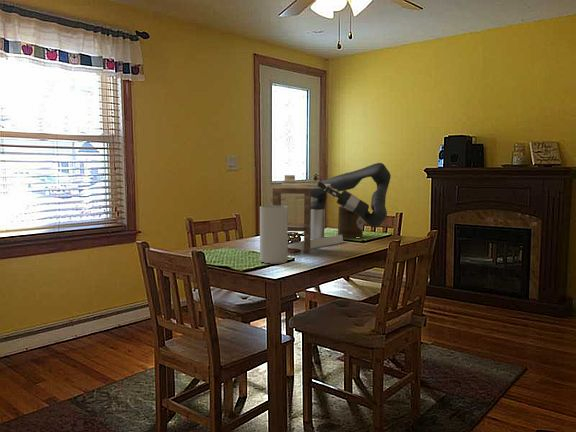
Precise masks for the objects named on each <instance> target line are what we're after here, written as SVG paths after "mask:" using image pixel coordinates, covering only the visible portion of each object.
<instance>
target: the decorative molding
mask: <svg viewBox="0 0 576 432" xmlns="http://www.w3.org/2000/svg"><path fill="white" fill-rule="evenodd" d="M342 243H344V238H342V235H338V234H337V235H331V236H324V238H319V239H311V244H310V249H309V250H311V249H315V248H316V249H317V248H321V247H325V246H332V245H336V244H342ZM288 249H293V250H295V249H297V250H299V251H300V250H301V251H304V240H301V241H296V242H292V243H288Z"/></svg>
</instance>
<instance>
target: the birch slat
mask: <svg viewBox="0 0 576 432" xmlns="http://www.w3.org/2000/svg"><path fill="white" fill-rule="evenodd" d="M317 185H318V184H309V183H295V184H283V183H281V186H280V187H281V188H320V187H319V186H317ZM324 185H326V186H328V187H330V184H324Z"/></svg>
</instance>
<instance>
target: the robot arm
mask: <svg viewBox="0 0 576 432" xmlns="http://www.w3.org/2000/svg"><path fill="white" fill-rule="evenodd" d="M366 178H371V180H373V182H374V183H375V184H376V190H375V191H374V192H373V193H372V196H371V201H370V202H371V203H370V205H369V204H368V203H367V202H365V201H363V200H362V199H360V198H358V197H357V196H356V195H354V194H353V193H351V192H349V190H352V189H354V188H356V187H357V186H358V185H359V184H360V182H361V181H362V180H363V179H366ZM390 181H391V173H390V171H389V170H388V168H387V167H386V165H385V164H384V163H382V162H376V163H373V164H370V165H368V166H366V167H363V168H360V169H357V170H353V171H351V172H345V173H341V174H338V175H335V176H333V177H330V178H327V179H324V180H323V179H322V180H318V181H311V182H309V183H308V184H318V185H317V186H319V187H320V188H311V198H312V200H311V240H313V239H319V238H324V237H325V221H326V220H325V217H326V216H325V215H326V214H325V213H326V211H325V209H326V208H325V206H326V204H327V195H328V194H329V195H330V196H331V197H333V198H335V197H336V198H337V200H336V204H337V205H340V206H343V207H344V208H346V209H348V210H350V211H352V212H354V213H356V214H357V215H359V216H360V217H361V218H362V219H363V222H365V223H366V224H367V225H368V226H370V227H372V228H379V227H380V226H381V225H382V224H383V223H384V221H385V220H386V219H387V215H388V212H387V209H386V208H387V207H386V200H387V199H386V197H387V192H388V188H389V185H390ZM324 184H330V187H328V186H326V185H324ZM370 208H371V210H372V212H371V211H369V209H370Z"/></svg>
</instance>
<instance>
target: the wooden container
mask: <svg viewBox="0 0 576 432" xmlns="http://www.w3.org/2000/svg"><path fill="white" fill-rule="evenodd" d="M337 218H338V219H337V220H338V221H337V235H342V237H345V238H344V239H346V238H356V237H362V236H363V235H364V234H363V233H364V232H363V231H364V230H363V229H364V220H363V219H362V218H361V217H360V216H359V215H357V214H356V213H354V212H352V211H350V210H348V209H346V208H344V207H343V206H341V205H340V206H338V217H337ZM362 238H363V237H362Z"/></svg>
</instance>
